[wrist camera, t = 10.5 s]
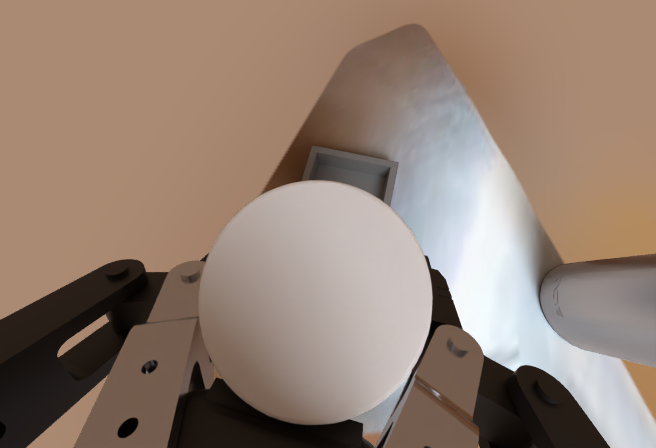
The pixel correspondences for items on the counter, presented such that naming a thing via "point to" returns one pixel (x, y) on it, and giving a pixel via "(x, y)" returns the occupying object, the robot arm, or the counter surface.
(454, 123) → the counter surface
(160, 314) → the robot arm
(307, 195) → the pill bottle
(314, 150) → the charcoal bin
